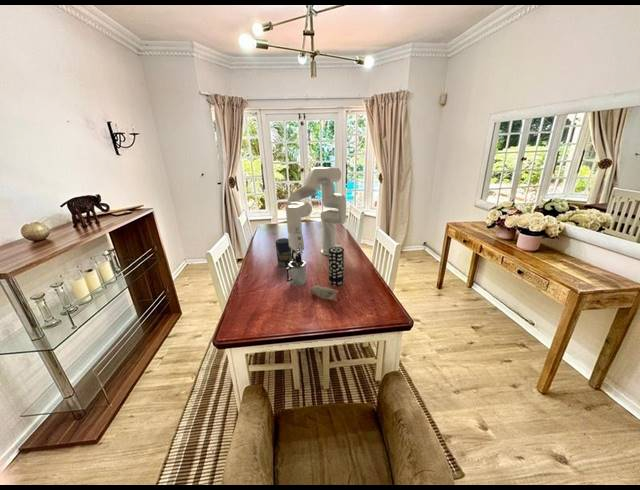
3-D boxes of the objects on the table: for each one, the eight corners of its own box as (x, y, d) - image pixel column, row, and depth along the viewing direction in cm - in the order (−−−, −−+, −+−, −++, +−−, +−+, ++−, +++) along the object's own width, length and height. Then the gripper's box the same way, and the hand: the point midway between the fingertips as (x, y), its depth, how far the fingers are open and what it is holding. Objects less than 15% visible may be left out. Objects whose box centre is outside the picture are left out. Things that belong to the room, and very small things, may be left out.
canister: (289, 267, 160) (287, 241, 153) (275, 267, 162) (272, 241, 155) (294, 261, 169) (292, 236, 162) (280, 260, 170) (278, 235, 164)
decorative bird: (315, 291, 133) (314, 279, 131) (341, 301, 125) (341, 288, 122) (309, 296, 129) (308, 284, 126) (336, 306, 121) (336, 293, 118)
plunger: (300, 275, 146) (298, 250, 140) (304, 279, 141) (303, 253, 135) (291, 277, 143) (289, 252, 137) (295, 281, 138) (294, 256, 133)
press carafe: (301, 276, 149) (300, 258, 144) (309, 283, 141) (308, 264, 137) (284, 282, 143) (282, 263, 139) (290, 289, 136) (289, 269, 132)
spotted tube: (345, 279, 144) (345, 247, 137) (341, 287, 137) (341, 253, 129) (331, 277, 147) (331, 246, 139) (327, 284, 139) (326, 252, 132)
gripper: (308, 231, 126) (310, 264, 133) (294, 223, 139) (296, 253, 146) (295, 234, 122) (297, 268, 129) (281, 226, 136) (284, 256, 143)
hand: (296, 260), depth 137 cm, fingers open, 4 cm apart
